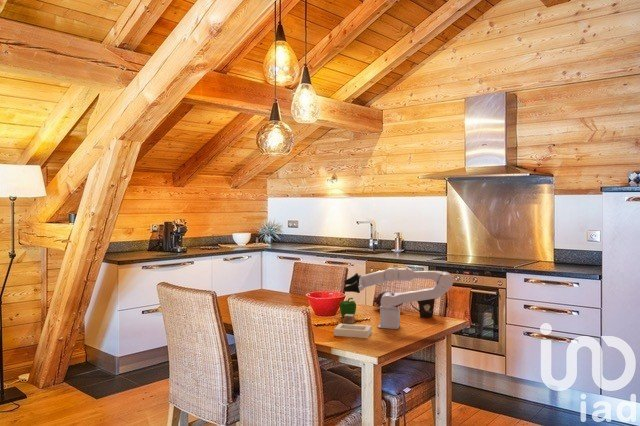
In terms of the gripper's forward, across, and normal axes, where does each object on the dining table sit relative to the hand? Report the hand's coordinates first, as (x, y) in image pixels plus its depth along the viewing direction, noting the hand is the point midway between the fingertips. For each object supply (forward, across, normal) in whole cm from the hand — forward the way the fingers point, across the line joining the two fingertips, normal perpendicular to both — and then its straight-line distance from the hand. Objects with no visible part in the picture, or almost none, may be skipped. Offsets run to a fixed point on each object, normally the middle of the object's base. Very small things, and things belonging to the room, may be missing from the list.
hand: (344, 286), depth 251 cm
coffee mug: (-31, -16, +34) cm, 48 cm away
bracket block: (+2, +10, +16) cm, 20 cm away
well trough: (-1, +20, +14) cm, 25 cm away
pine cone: (-12, -28, +32) cm, 44 cm away
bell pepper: (+6, -10, +21) cm, 24 cm away
